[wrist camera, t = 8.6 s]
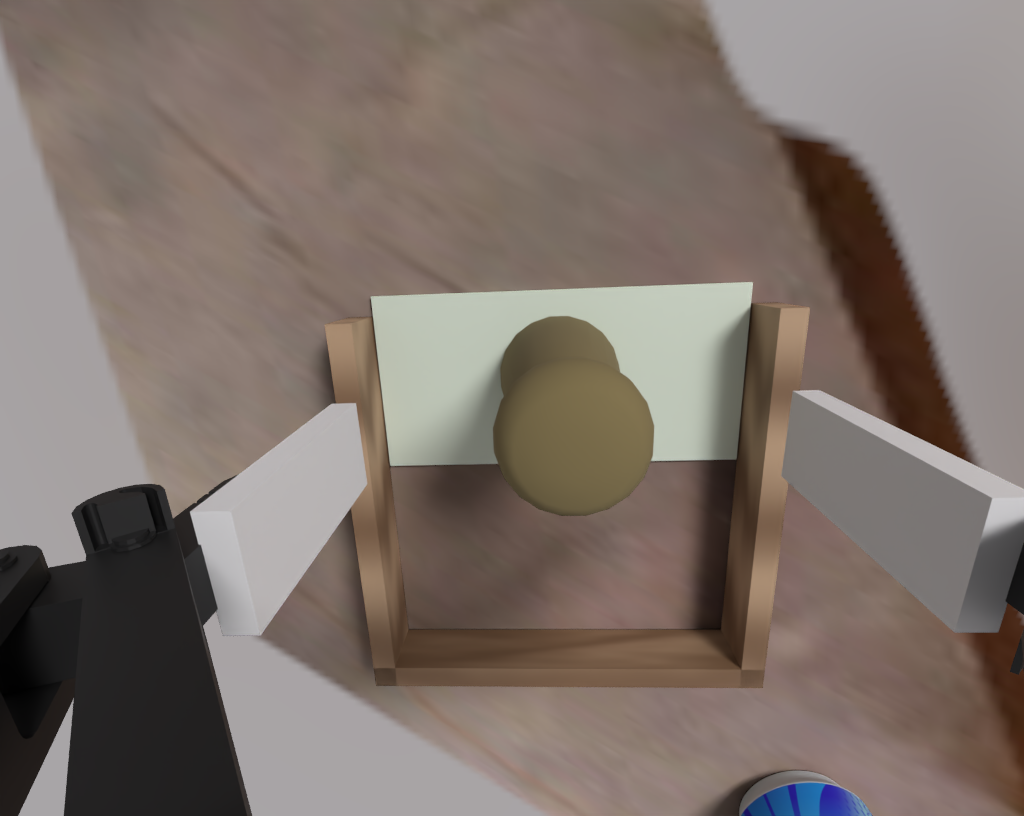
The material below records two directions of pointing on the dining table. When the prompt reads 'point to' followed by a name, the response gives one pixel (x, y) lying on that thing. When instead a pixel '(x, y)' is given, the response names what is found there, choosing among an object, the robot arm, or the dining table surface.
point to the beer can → (800, 797)
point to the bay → (587, 653)
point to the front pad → (613, 310)
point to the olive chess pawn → (570, 420)
